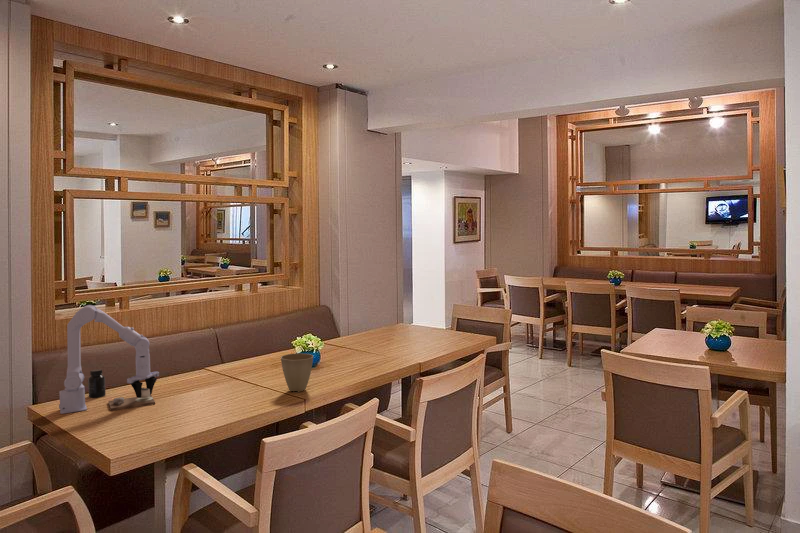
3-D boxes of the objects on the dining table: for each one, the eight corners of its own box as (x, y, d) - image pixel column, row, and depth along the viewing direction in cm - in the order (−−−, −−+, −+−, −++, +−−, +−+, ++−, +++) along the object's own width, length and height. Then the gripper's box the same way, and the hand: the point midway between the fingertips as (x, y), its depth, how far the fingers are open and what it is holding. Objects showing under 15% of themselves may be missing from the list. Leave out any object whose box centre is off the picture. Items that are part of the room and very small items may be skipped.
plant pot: (292, 396, 249) (291, 361, 248) (275, 390, 260) (274, 356, 259) (320, 390, 258) (319, 356, 258) (303, 384, 270) (302, 351, 269)
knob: (135, 397, 243) (135, 389, 243) (144, 394, 247) (144, 386, 247) (143, 398, 241) (143, 390, 240) (152, 395, 245) (152, 387, 245)
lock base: (111, 410, 231) (110, 403, 231) (108, 403, 242) (108, 396, 242) (155, 404, 240) (154, 397, 240) (150, 396, 251) (150, 390, 251)
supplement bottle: (108, 396, 254) (107, 370, 253) (91, 399, 249) (90, 372, 248) (102, 393, 259) (101, 367, 258) (86, 396, 254) (85, 370, 253)
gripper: (134, 369, 235) (135, 401, 236) (163, 362, 248) (164, 392, 248) (123, 368, 238) (124, 399, 239) (152, 361, 251) (153, 390, 252)
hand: (144, 395), depth 244 cm, fingers closed on knob, 5 cm apart
